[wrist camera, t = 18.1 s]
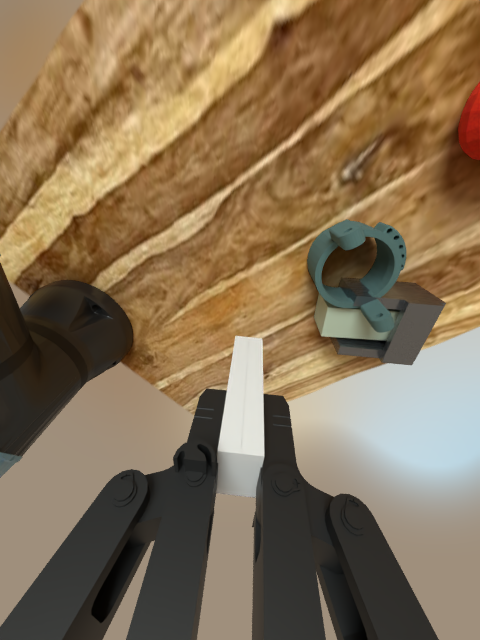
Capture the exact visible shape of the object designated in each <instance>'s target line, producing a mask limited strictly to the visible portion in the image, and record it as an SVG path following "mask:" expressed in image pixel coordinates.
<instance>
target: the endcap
mask: <svg viewBox="0 0 480 640" xmlns="http://www.w3.org/2000/svg"><path fill="white" fill-rule="evenodd" d="M360 280H361V279H356V278H343V277H341V280H340V284H339V287H340V288H341V289H342V291H343V292H344V293H345V295H346V296H347V298H351V299H352V301H353V302H354V304H353V306H360V307H361V305H364V304H366V303H368V302H371V301H373V300H375V299H378V300H379V301H380V302H381V303H382V304H383V305H384V306H385V307H386V309H396V310H400V312H399V314H398V316H397V319H396V321H395V323H394V324H395V325H394V328H393V329H392V330H391V332H390V334H389V337H388V339H387V341H385V340H370V339H355V338H340V337H330V338H331V340H332V343H333V345H334V347H335V350H336V352H337V354H340V355H351V356H361V357H372V358H379V359H380V360H381V362H383V363H394V364H404V365H412V364H413V362H414V361H415V359H416V357H417V355H418V354H419V352H420V350H421V348H422V346H423V344H424V343H425V341H426V339H427V337H428V335H429V333H430V332H431V330H432V328H433V326H434V324H435V322H436V321H437V319H438V317H439V315H440V313H441V311H442V310H443V308H444V306H445V304H446V303H445V302H444V301H442V300H440V299H439V298H437V297H436V296H434V295H433V294H431V293H430V292H428V291H427V290H425V289H424V288H422V287H421V286H419V285H417V284H416V283H408V282H395V283H394V285H393V286H392V287H391V289H390V290H389V291H388V292H387V293H386V294H385V295H384V296H382V297H381V298H380V297H372V296H371V295H370V294H369V293H368V292H369V291H370V290H369V289H368V288H367V287H366V286H365V285H364V284H363V283H362V282H361V281H360Z"/></svg>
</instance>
